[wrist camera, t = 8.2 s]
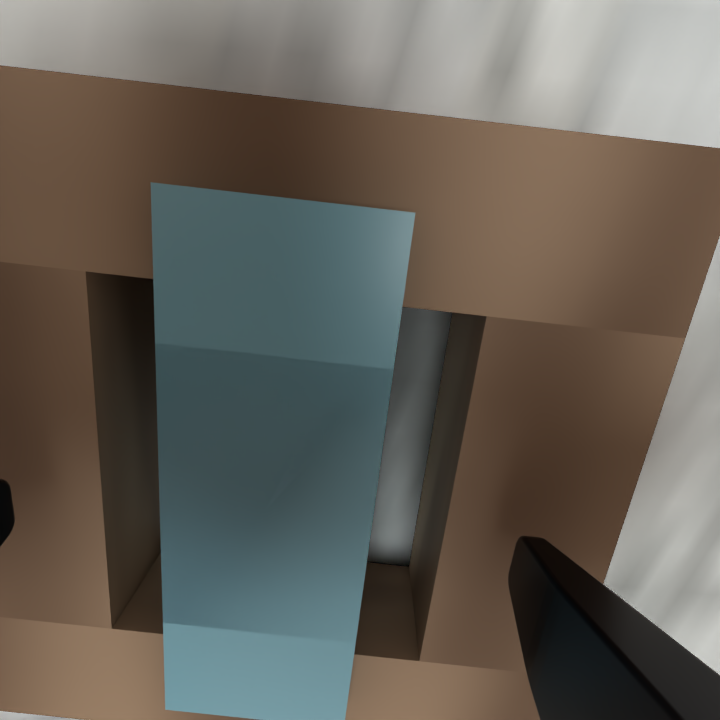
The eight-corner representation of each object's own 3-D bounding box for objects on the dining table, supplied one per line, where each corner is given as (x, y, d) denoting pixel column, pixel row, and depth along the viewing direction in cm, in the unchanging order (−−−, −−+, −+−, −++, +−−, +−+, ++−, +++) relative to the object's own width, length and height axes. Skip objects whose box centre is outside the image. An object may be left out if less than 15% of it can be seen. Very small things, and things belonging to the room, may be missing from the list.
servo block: (400, 217, 10) (415, 212, 7) (351, 598, 13) (343, 728, 10) (226, 197, 10) (150, 182, 7) (218, 584, 13) (165, 709, 10)
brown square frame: (639, 173, 10) (747, 151, 7) (507, 657, 14) (541, 767, 11) (-4, 99, 9) (-159, 47, 7) (56, 609, 14) (-24, 708, 11)
